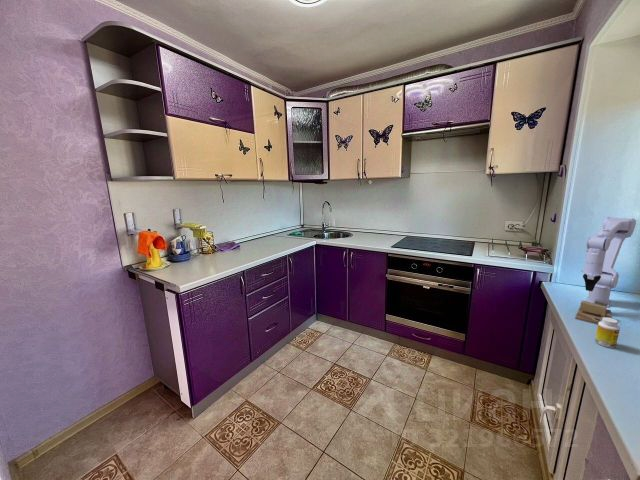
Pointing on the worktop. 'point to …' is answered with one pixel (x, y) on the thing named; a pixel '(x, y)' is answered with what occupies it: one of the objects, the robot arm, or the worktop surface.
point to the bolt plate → (591, 316)
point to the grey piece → (603, 303)
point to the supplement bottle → (607, 332)
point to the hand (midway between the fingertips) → (589, 290)
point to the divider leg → (593, 308)
